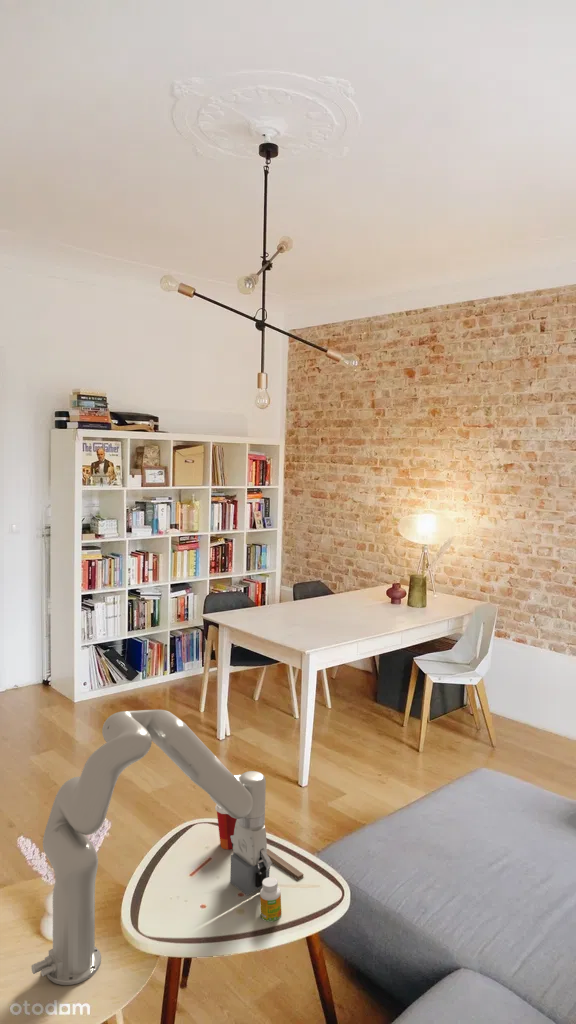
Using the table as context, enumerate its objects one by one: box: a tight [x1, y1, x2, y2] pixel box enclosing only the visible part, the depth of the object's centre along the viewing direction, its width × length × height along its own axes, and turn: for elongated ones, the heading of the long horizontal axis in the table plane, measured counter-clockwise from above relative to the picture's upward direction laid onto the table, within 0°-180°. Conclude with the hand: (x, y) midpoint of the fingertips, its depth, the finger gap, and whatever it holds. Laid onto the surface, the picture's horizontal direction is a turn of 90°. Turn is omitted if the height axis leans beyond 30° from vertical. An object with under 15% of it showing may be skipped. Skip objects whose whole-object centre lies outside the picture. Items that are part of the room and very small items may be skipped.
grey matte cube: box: [229, 853, 270, 896], centre depth 190 cm, size 8×8×9 cm
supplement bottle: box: [259, 876, 282, 922], centre depth 177 cm, size 5×5×10 cm
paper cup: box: [214, 803, 237, 851], centre depth 208 cm, size 8×8×14 cm
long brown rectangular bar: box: [267, 848, 304, 881], centre depth 198 cm, size 2×16×2 cm, turn 41°
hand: (249, 876), depth 190 cm, fingers open, 9 cm apart
